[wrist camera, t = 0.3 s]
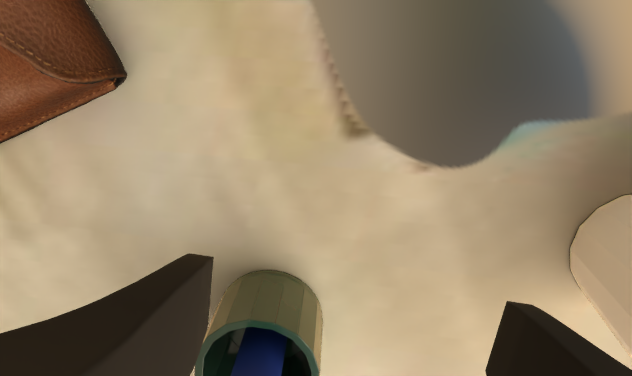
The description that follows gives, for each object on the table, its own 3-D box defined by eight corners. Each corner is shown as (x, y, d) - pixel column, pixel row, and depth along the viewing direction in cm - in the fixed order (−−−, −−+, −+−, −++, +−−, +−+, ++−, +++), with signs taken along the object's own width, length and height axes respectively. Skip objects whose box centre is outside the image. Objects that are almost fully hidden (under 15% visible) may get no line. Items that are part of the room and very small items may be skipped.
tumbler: (315, 365, 24) (310, 431, 20) (216, 352, 24) (192, 415, 20) (328, 277, 22) (326, 330, 18) (222, 263, 22) (198, 312, 18)
